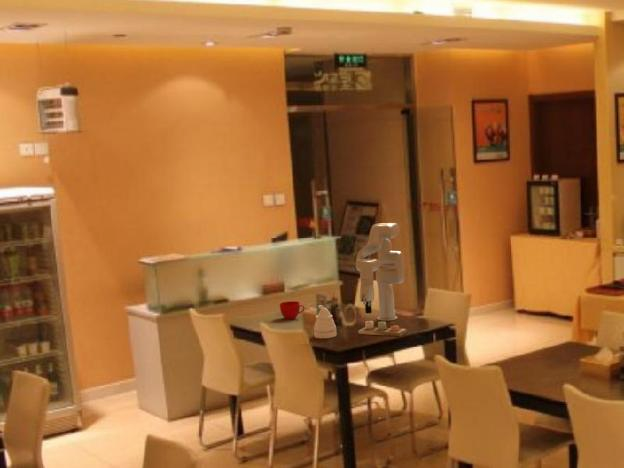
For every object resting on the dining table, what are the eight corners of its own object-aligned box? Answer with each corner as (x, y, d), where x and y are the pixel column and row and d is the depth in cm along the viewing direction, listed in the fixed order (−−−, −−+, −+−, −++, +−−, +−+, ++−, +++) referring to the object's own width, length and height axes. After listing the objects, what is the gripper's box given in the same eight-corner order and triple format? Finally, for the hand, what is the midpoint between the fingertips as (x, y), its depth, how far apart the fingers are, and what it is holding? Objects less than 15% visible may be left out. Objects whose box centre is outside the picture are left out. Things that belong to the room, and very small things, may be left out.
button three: (393, 332, 501) (392, 325, 501) (400, 332, 499) (400, 325, 499) (389, 333, 497) (389, 326, 497) (397, 334, 495) (396, 327, 494)
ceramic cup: (300, 320, 553) (299, 305, 552) (277, 320, 561) (276, 304, 560) (309, 316, 565) (308, 301, 564) (286, 316, 572) (285, 301, 571)
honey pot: (318, 339, 497) (316, 308, 495) (311, 335, 509) (309, 304, 507) (339, 336, 500) (337, 305, 499) (332, 332, 513) (330, 302, 511)
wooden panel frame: (366, 330, 513) (365, 326, 513) (406, 332, 500) (406, 328, 500) (358, 333, 504) (358, 330, 504) (399, 336, 491) (399, 332, 491)
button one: (367, 327, 509) (367, 320, 509) (375, 327, 507) (374, 320, 506) (364, 329, 505) (363, 322, 504) (371, 329, 502) (371, 322, 502)
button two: (380, 328, 505) (379, 321, 505) (387, 328, 503) (387, 321, 502) (376, 329, 501) (376, 322, 500) (384, 330, 499) (383, 323, 498)
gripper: (366, 279, 511) (368, 310, 513) (355, 283, 498) (357, 315, 500) (378, 280, 508) (379, 311, 509) (367, 283, 495) (368, 315, 496)
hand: (368, 312), depth 504 cm, fingers closed
